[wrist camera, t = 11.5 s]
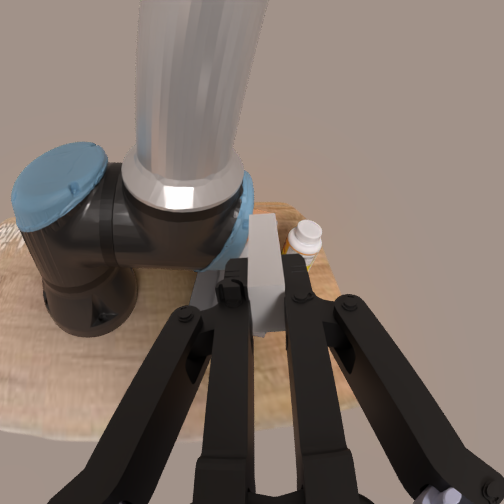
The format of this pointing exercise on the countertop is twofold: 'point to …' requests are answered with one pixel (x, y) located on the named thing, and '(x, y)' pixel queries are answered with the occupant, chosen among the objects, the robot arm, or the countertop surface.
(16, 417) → the countertop surface
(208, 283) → the mount
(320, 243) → the supplement bottle
